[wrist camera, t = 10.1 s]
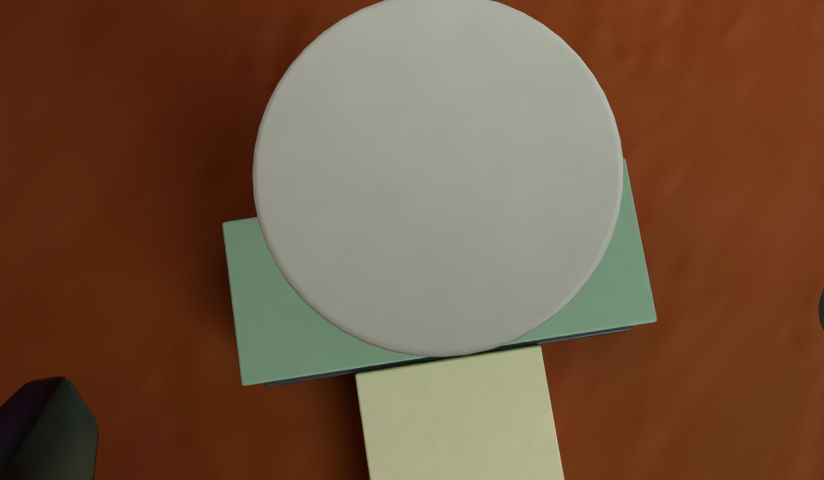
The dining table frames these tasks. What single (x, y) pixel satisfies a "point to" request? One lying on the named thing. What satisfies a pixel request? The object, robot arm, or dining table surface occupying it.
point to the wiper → (432, 199)
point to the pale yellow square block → (461, 419)
